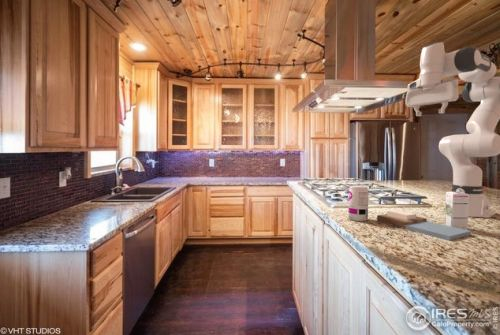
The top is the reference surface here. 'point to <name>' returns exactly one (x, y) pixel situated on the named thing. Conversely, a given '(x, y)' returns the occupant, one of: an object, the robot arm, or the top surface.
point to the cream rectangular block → (401, 214)
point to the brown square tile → (398, 220)
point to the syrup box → (457, 210)
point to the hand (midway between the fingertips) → (429, 114)
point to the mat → (438, 230)
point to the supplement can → (358, 203)
